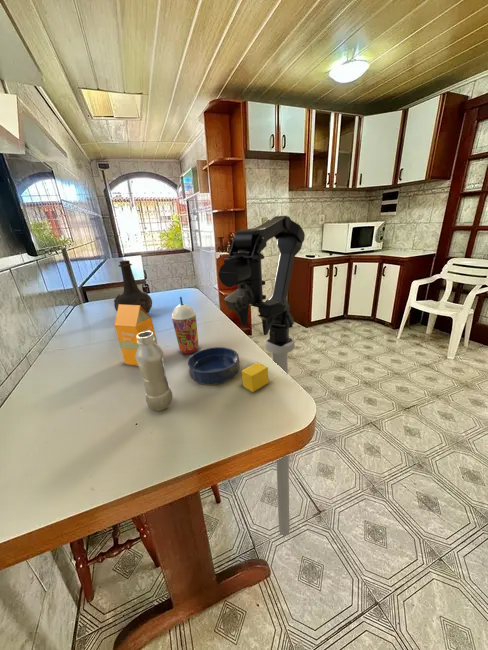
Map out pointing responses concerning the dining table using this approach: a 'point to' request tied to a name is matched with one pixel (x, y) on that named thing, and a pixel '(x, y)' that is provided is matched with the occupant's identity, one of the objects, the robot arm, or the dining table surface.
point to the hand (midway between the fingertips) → (254, 330)
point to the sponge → (255, 376)
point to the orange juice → (131, 329)
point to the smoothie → (185, 327)
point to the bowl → (214, 365)
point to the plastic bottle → (153, 372)
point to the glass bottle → (131, 290)
